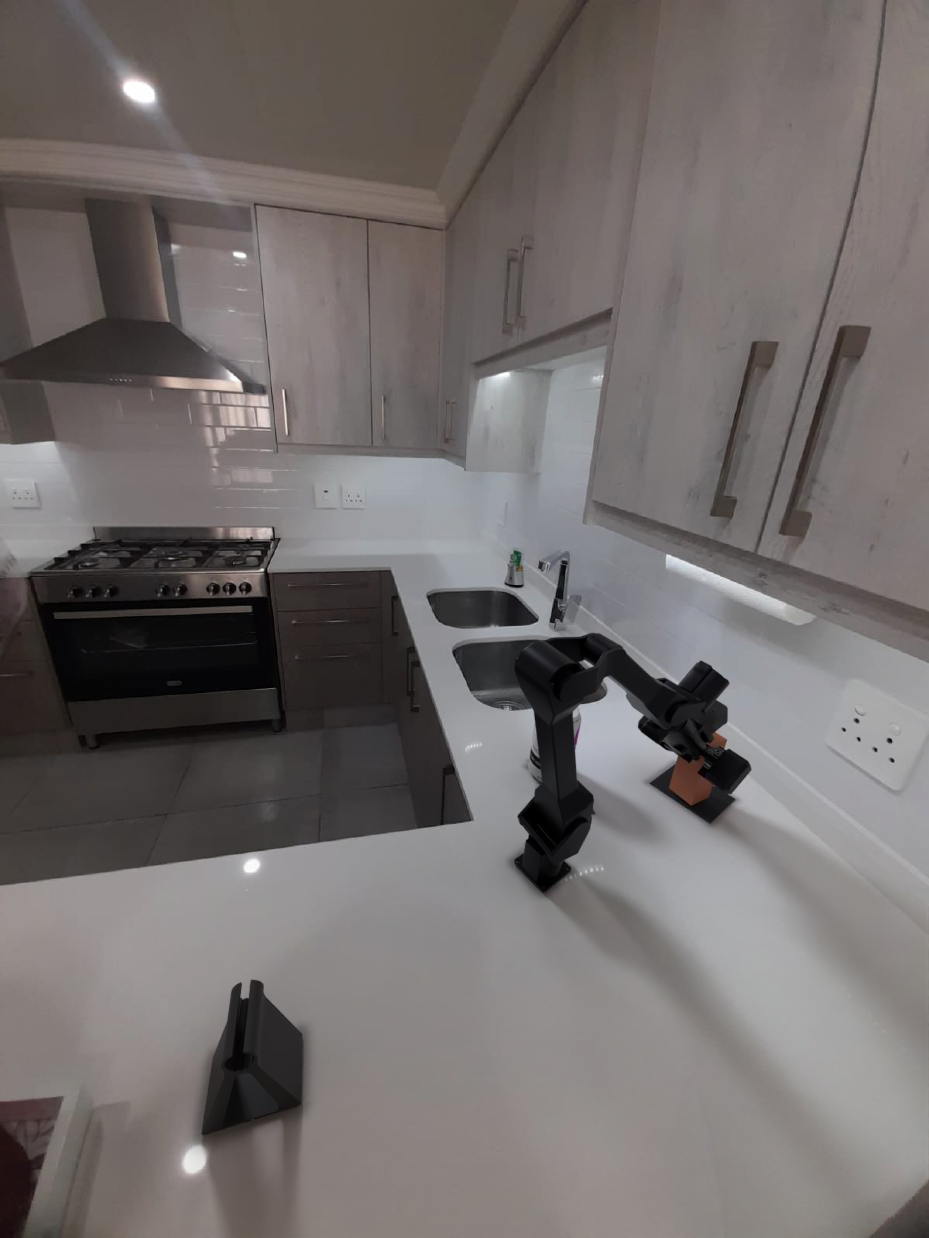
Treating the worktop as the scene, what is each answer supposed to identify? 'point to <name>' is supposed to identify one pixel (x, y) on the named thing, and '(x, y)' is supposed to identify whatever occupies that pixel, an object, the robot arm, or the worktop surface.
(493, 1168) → the worktop surface
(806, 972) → the worktop surface
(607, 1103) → the worktop surface
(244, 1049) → the phone stand
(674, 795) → the mat
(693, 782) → the terracotta block
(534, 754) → the supplement can
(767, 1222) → the worktop surface
